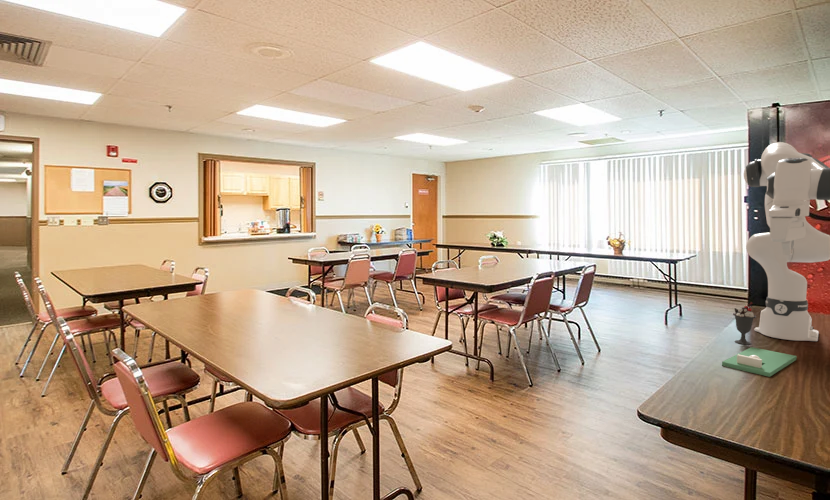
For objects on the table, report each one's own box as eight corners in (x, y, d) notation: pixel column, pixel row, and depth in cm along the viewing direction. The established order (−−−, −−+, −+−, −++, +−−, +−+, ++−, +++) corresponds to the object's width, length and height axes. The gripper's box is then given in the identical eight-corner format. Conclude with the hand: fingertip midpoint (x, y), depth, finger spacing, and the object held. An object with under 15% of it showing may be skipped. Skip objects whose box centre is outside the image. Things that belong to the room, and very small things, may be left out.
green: (751, 350, 151) (751, 340, 151) (796, 359, 141) (797, 348, 141) (722, 365, 137) (722, 354, 137) (769, 376, 127) (770, 364, 127)
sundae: (758, 345, 156) (760, 303, 154) (737, 345, 157) (739, 303, 156) (748, 340, 162) (750, 300, 161) (728, 339, 163) (729, 299, 162)
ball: (750, 357, 139) (748, 351, 137) (763, 360, 136) (760, 354, 135) (747, 366, 138) (745, 360, 136) (760, 368, 135) (757, 362, 133)
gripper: (788, 209, 147) (786, 251, 148) (766, 211, 135) (763, 256, 136) (813, 209, 142) (810, 252, 143) (792, 211, 130) (789, 258, 131)
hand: (787, 254), depth 140 cm, fingers closed
